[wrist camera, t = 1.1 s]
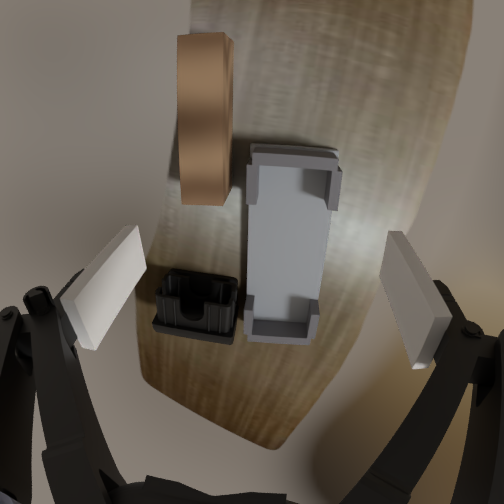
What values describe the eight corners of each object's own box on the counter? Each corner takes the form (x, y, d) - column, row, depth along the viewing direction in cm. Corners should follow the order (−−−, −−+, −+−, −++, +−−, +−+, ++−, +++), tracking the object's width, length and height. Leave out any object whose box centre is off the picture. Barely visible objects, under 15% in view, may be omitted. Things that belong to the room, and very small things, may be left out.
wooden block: (195, 43, 27) (177, 35, 22) (233, 41, 27) (223, 32, 22) (197, 185, 35) (181, 204, 30) (232, 186, 35) (222, 205, 29)
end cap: (168, 308, 44) (153, 341, 38) (166, 266, 41) (148, 298, 35) (237, 319, 44) (230, 355, 38) (242, 277, 40) (234, 312, 34)
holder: (251, 143, 32) (247, 150, 28) (337, 149, 31) (344, 157, 28) (246, 321, 44) (243, 341, 40) (311, 325, 43) (313, 346, 40)
